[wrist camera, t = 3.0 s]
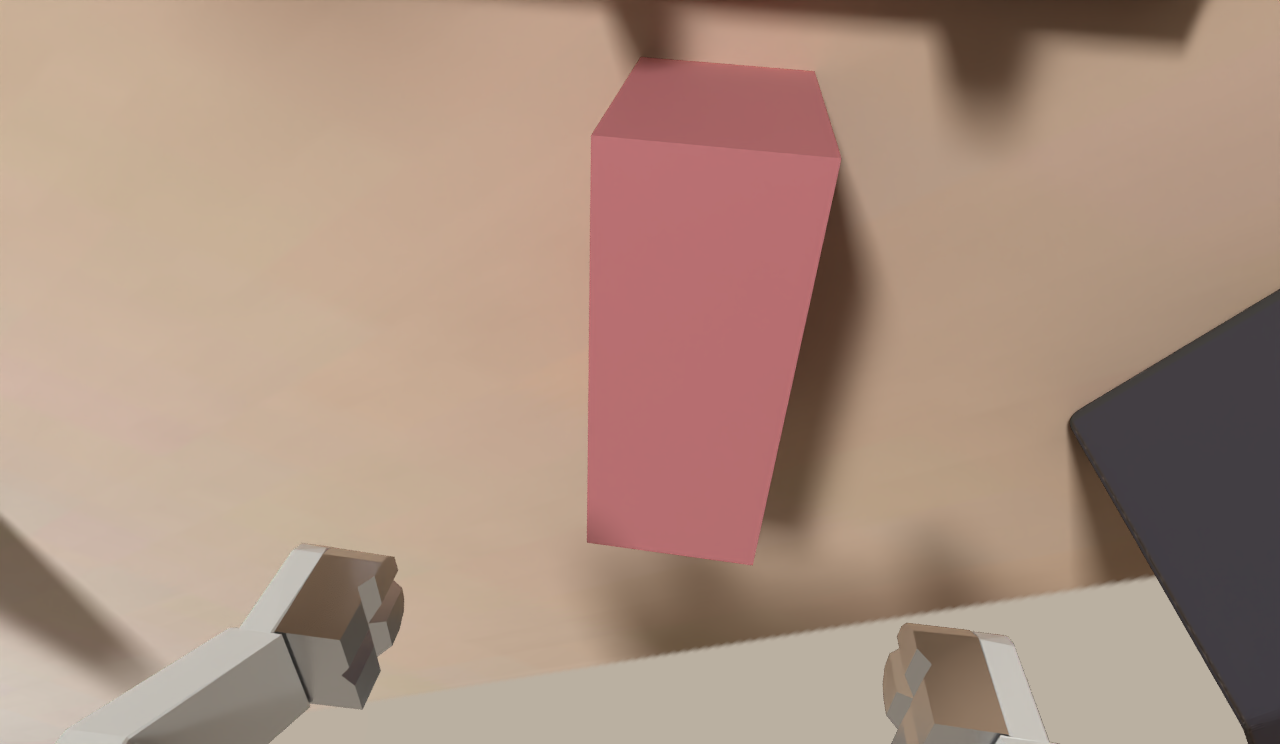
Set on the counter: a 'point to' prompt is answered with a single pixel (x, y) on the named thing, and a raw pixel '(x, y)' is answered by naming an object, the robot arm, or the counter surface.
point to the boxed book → (699, 297)
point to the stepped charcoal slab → (1207, 496)
